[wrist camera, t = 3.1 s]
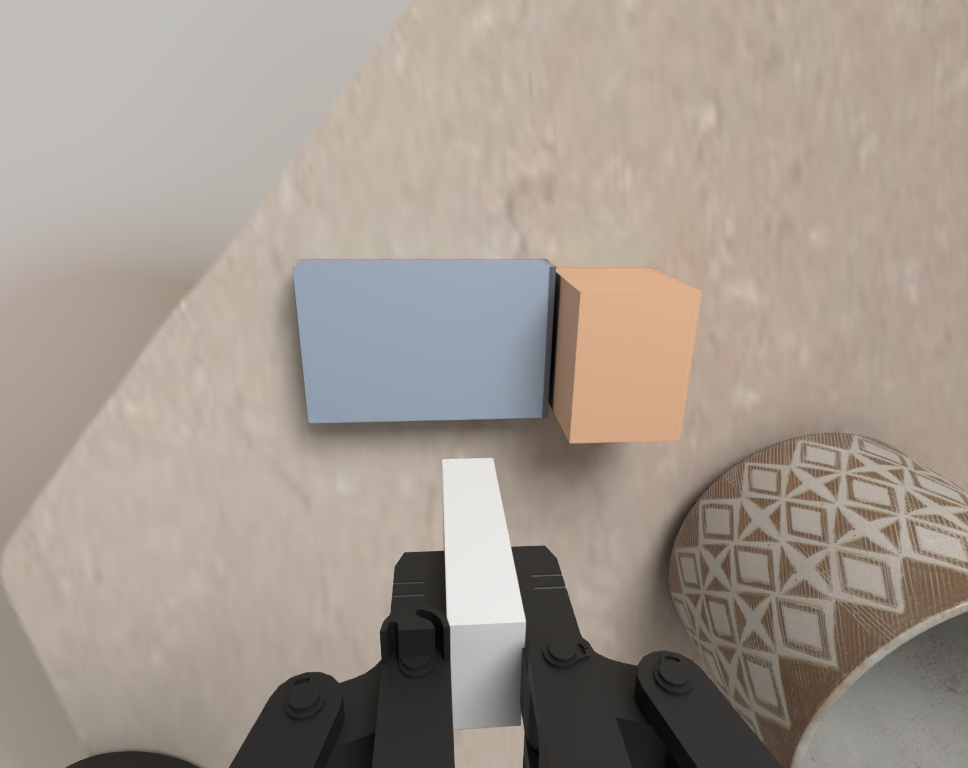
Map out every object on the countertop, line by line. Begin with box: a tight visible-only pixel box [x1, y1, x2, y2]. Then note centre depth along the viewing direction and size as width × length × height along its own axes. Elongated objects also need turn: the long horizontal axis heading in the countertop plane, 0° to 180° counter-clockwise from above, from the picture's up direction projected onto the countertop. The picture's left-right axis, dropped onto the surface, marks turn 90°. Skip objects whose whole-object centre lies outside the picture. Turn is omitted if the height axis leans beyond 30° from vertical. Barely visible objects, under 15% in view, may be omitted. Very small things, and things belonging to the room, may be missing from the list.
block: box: [548, 268, 702, 443], centre depth 32 cm, size 6×8×7 cm
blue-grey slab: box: [293, 259, 556, 423], centre depth 34 cm, size 14×9×3 cm, turn 89°
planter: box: [669, 433, 968, 768], centre depth 35 cm, size 19×19×16 cm
